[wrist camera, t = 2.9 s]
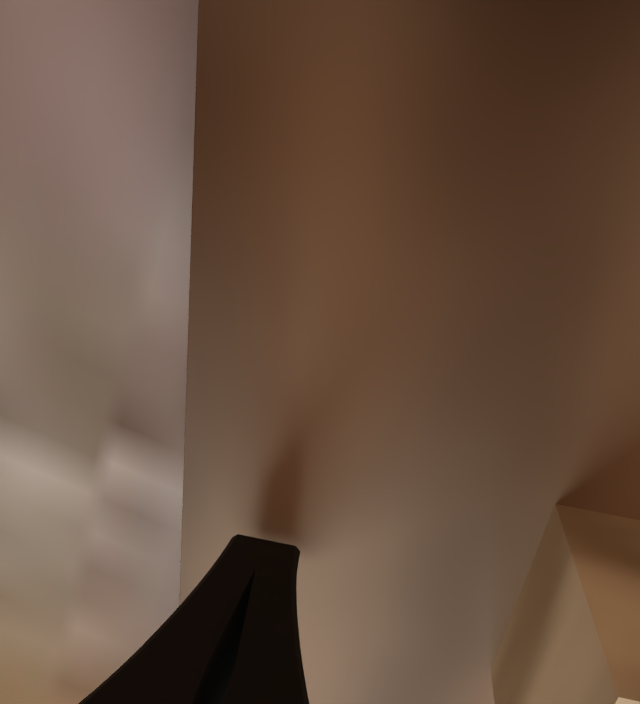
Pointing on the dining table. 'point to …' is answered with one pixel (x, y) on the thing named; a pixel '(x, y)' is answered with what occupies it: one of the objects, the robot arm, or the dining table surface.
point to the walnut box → (411, 314)
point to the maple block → (576, 616)
